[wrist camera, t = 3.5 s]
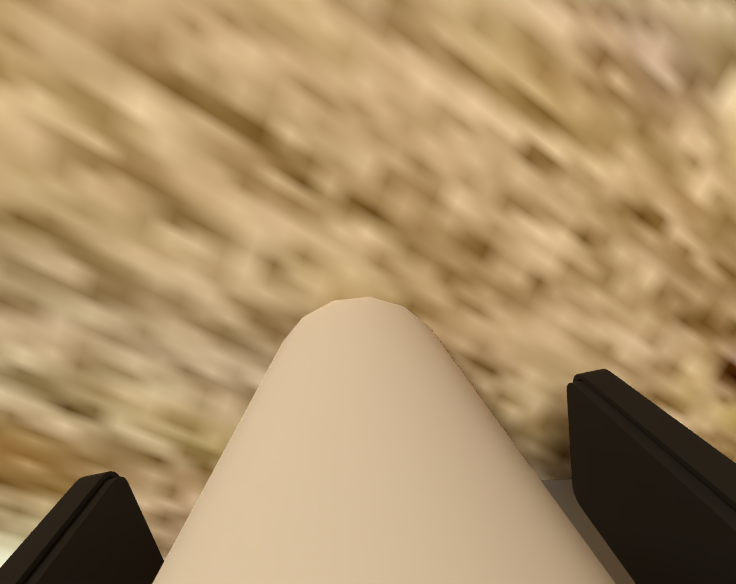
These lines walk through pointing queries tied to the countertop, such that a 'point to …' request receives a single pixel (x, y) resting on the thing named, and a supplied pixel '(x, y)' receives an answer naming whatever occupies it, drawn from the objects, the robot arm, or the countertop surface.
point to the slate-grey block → (587, 529)
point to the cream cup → (373, 473)
